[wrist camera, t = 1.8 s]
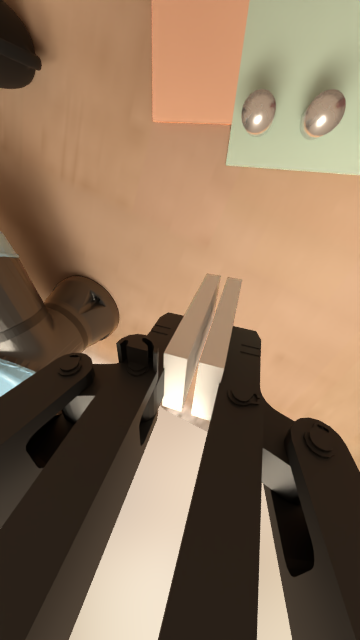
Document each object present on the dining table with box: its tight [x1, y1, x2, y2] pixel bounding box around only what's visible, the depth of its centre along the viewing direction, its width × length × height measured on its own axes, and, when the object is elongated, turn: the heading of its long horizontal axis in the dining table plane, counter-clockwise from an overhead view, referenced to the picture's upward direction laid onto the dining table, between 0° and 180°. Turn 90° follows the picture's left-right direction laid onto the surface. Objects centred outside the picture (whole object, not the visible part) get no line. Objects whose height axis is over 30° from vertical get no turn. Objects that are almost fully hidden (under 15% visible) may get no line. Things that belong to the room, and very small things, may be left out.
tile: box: [152, 0, 250, 125], centre depth 24 cm, size 10×12×1 cm
